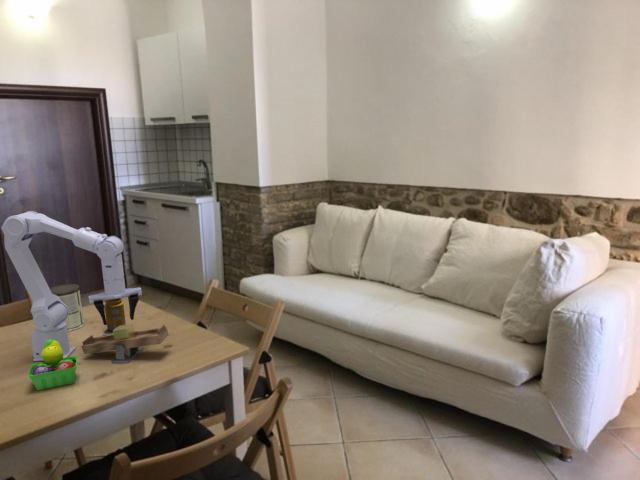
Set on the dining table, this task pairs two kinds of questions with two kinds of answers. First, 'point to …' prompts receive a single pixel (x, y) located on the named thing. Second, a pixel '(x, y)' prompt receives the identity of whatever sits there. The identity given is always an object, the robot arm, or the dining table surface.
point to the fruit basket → (53, 367)
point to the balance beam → (125, 340)
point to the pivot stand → (125, 353)
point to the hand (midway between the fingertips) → (118, 321)
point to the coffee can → (70, 304)
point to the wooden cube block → (124, 332)
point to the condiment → (114, 315)
